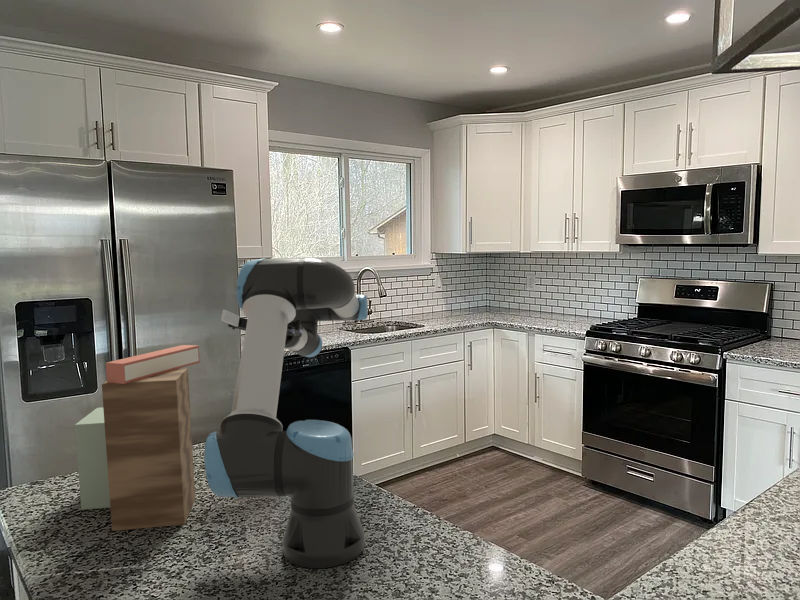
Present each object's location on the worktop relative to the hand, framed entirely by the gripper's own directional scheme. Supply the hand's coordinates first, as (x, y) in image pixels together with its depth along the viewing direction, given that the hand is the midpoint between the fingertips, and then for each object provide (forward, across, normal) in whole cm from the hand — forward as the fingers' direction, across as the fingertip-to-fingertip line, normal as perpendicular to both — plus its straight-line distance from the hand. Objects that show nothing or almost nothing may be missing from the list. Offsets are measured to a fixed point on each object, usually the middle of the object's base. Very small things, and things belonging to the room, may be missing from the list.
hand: (247, 315), depth 144 cm
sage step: (+2, +24, -44) cm, 50 cm away
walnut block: (+8, +8, -46) cm, 47 cm away
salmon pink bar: (+15, +10, -17) cm, 25 cm away
